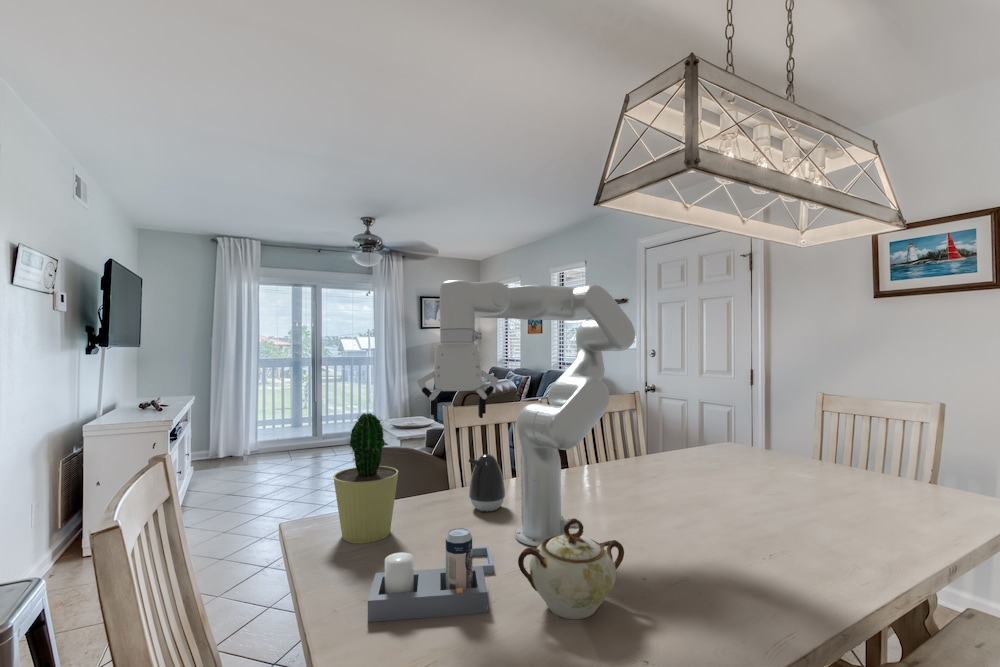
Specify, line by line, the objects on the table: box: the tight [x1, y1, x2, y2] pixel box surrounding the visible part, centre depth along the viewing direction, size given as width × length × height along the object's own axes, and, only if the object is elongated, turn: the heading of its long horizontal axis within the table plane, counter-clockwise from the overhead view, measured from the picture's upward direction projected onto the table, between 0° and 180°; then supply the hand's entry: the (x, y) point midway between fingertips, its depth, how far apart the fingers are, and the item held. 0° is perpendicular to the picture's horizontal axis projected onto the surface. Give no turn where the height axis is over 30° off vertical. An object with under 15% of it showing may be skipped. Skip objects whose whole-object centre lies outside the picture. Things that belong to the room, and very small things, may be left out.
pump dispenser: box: [468, 453, 506, 513], centre depth 136 cm, size 10×10×15 cm
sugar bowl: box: [517, 518, 625, 620], centre depth 85 cm, size 20×15×15 cm
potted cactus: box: [332, 412, 399, 544], centre depth 118 cm, size 15×15×30 cm
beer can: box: [445, 527, 473, 590], centre depth 87 cm, size 5×5×12 cm
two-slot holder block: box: [367, 552, 489, 623], centre depth 86 cm, size 20×10×8 cm, turn 97°
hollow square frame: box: [472, 546, 494, 574], centre depth 101 cm, size 9×9×2 cm
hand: (458, 417), depth 104 cm, fingers open, 9 cm apart
